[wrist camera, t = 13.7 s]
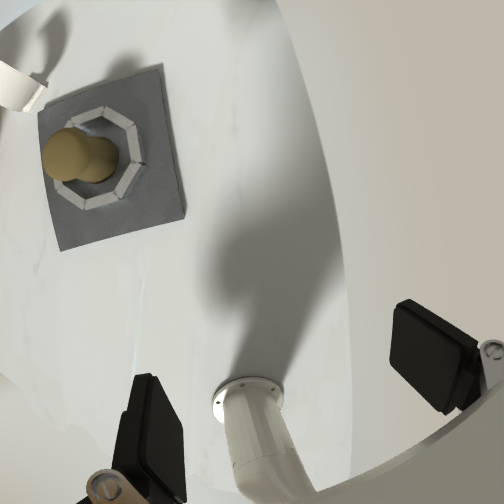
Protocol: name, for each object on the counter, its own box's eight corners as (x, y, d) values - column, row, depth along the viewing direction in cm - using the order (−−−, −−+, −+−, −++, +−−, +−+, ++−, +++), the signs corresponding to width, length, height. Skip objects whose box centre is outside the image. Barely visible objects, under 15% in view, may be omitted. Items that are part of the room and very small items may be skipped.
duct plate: (184, 217, 35) (183, 222, 31) (64, 249, 32) (50, 257, 28) (159, 73, 29) (155, 60, 25) (42, 114, 27) (27, 108, 23)
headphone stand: (30, 76, 24) (-11, 52, 13) (51, 90, 26) (8, 65, 15) (13, 102, 25) (-32, 86, 13) (33, 117, 27) (-14, 102, 15)
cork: (92, 193, 30) (52, 200, 20) (69, 158, 28) (24, 152, 18) (128, 162, 30) (98, 154, 20) (103, 127, 29) (67, 107, 18)
